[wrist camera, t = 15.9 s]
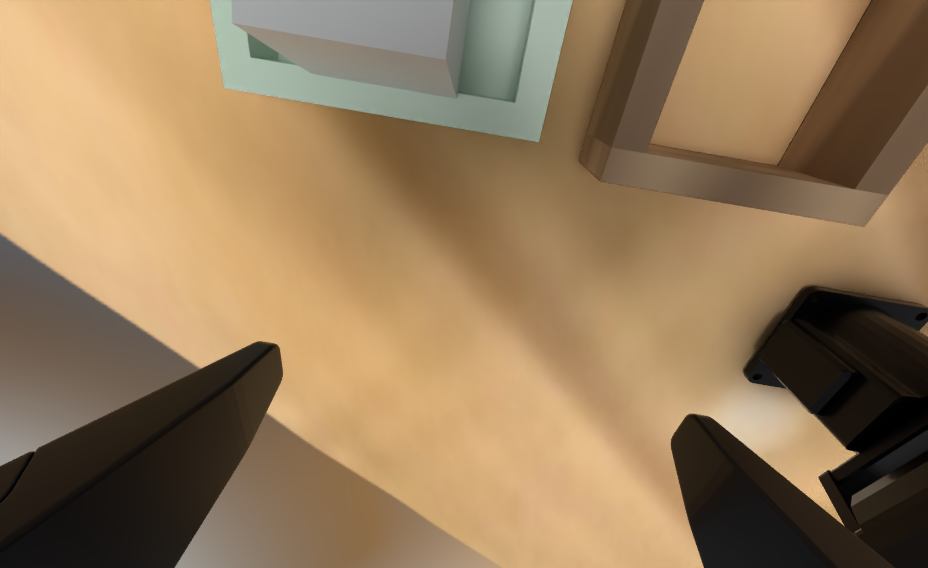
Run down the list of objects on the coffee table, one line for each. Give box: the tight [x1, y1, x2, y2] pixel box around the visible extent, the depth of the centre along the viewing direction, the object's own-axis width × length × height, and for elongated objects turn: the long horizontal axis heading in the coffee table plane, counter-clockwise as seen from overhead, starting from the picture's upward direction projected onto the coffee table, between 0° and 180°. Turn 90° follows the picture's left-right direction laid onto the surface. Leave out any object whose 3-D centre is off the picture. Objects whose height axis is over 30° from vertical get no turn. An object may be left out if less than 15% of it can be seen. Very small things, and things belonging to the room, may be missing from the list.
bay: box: [579, 0, 928, 227], centre depth 13 cm, size 10×8×4 cm
